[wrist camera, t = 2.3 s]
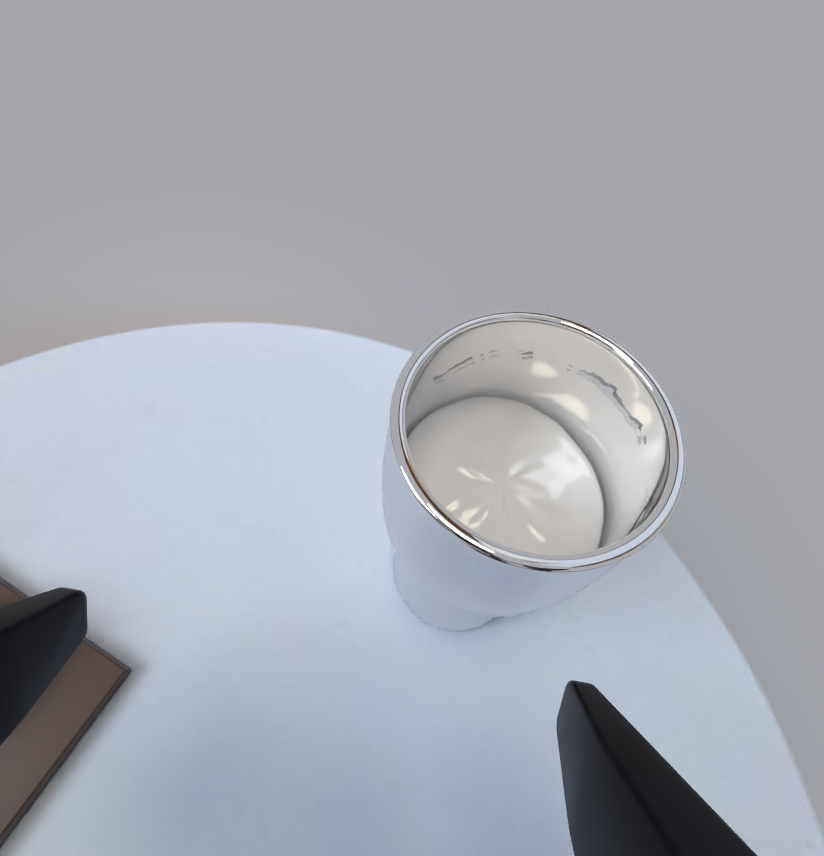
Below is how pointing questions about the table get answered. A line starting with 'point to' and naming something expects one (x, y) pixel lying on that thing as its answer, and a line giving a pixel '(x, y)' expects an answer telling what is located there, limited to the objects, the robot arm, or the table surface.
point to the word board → (52, 723)
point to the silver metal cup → (523, 465)
